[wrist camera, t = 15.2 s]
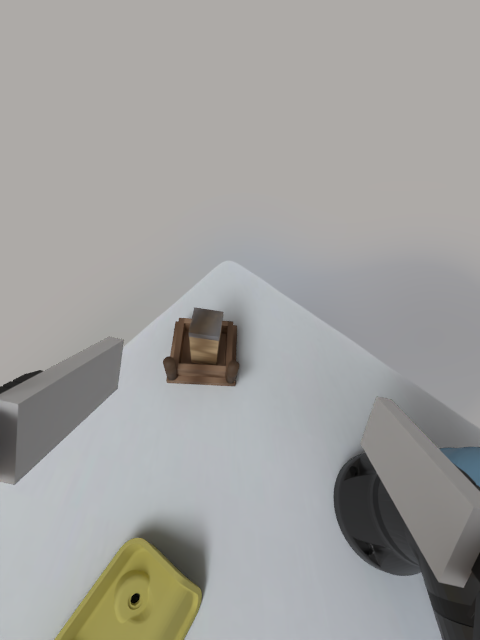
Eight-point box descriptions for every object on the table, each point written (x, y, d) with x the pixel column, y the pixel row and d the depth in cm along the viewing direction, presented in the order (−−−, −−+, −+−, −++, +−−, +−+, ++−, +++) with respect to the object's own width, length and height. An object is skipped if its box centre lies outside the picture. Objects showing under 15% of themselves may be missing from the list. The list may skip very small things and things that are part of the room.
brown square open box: (236, 328, 58) (240, 308, 52) (234, 386, 52) (239, 371, 46) (176, 324, 57) (173, 303, 51) (167, 382, 51) (162, 366, 45)
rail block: (220, 343, 54) (223, 311, 45) (216, 366, 52) (219, 337, 43) (195, 340, 54) (194, 307, 45) (191, 362, 52) (188, 332, 43)
